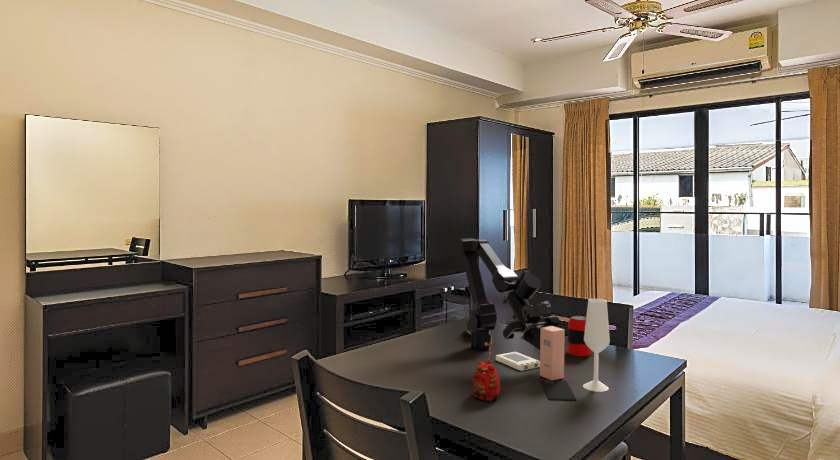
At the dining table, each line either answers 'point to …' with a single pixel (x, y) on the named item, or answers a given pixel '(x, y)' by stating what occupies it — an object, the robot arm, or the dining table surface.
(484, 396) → the red clay folk toy
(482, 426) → the dining table surface
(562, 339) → the block
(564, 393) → the smartphone
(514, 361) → the pad
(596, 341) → the champagne flute
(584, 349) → the soda can
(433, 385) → the dining table surface
